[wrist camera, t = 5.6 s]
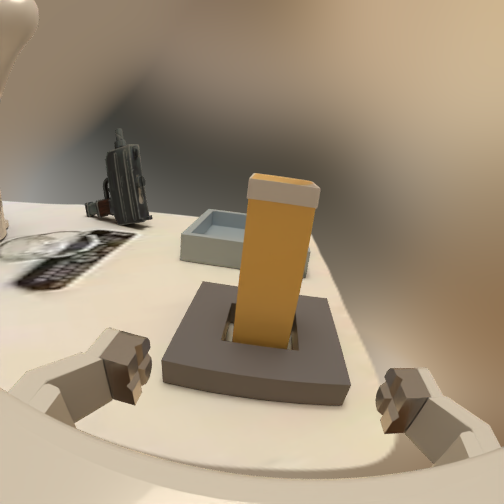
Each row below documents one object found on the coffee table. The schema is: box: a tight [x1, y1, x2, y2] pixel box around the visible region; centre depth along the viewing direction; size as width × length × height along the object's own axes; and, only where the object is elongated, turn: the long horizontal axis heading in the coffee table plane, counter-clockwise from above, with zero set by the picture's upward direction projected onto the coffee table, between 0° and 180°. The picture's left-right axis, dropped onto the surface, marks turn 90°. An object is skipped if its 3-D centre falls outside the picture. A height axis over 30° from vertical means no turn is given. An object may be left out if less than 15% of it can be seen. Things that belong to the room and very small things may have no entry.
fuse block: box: [161, 281, 351, 405], centre depth 23 cm, size 12×12×2 cm
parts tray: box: [180, 209, 310, 278], centre depth 45 cm, size 16×16×4 cm
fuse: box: [232, 173, 320, 349], centre depth 21 cm, size 4×4×13 cm
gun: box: [85, 129, 152, 225], centre depth 49 cm, size 3×17×15 cm
